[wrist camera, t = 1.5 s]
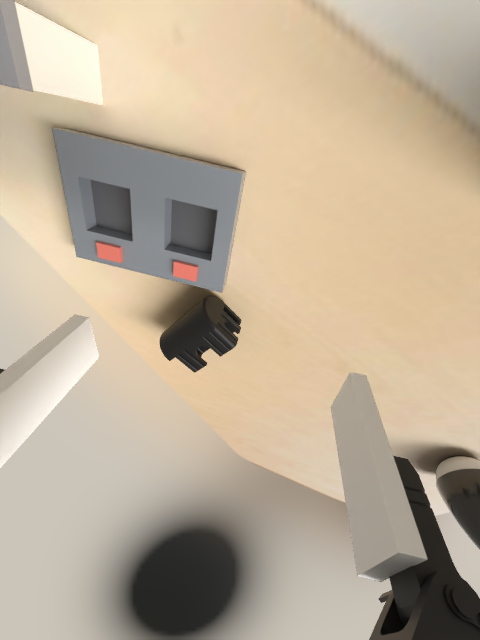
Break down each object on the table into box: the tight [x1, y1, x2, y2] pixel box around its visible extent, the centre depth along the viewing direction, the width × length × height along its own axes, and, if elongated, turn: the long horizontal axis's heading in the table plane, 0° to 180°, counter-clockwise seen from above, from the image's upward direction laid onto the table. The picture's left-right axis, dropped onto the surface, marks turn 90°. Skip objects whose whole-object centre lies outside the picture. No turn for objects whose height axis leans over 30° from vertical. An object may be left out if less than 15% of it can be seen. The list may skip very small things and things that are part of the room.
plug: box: [0, 0, 103, 105], centre depth 21 cm, size 5×5×10 cm
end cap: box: [160, 296, 241, 372], centre depth 37 cm, size 10×7×7 cm
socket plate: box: [52, 128, 246, 293], centre depth 31 cm, size 14×20×3 cm
